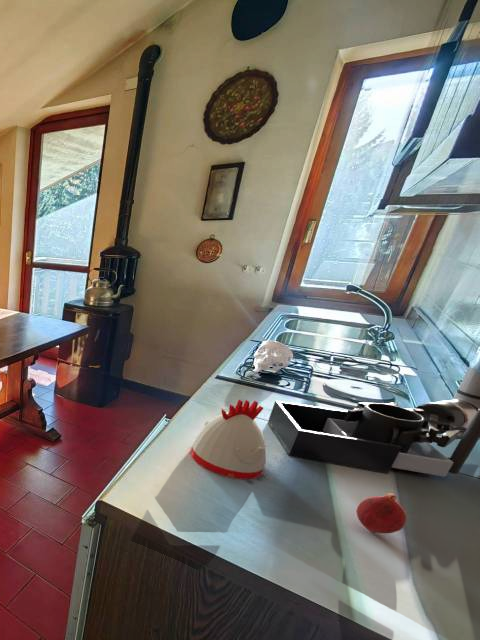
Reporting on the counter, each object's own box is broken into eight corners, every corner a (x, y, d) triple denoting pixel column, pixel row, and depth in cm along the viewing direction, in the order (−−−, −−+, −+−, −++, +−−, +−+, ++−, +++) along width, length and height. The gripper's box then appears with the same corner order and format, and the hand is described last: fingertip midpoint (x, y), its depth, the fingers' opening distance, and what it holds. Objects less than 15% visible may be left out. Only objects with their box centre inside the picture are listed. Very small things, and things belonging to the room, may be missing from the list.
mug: (356, 453, 88) (373, 418, 85) (347, 431, 97) (362, 399, 94) (415, 467, 83) (435, 430, 80) (399, 443, 93) (417, 409, 89)
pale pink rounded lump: (240, 366, 143) (257, 336, 142) (250, 378, 151) (265, 351, 151) (273, 374, 134) (291, 343, 134) (281, 387, 143) (298, 358, 143)
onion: (391, 549, 64) (413, 511, 61) (345, 528, 68) (364, 492, 65) (398, 534, 67) (419, 497, 64) (354, 515, 72) (372, 479, 69)
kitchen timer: (278, 479, 82) (302, 416, 76) (213, 479, 81) (233, 415, 76) (235, 444, 94) (254, 387, 89) (179, 443, 94) (194, 387, 88)
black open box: (350, 436, 99) (361, 412, 96) (387, 474, 84) (402, 447, 81) (267, 423, 105) (275, 400, 102) (288, 456, 90) (298, 430, 87)
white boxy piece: (417, 445, 93) (448, 388, 87) (461, 479, 81) (500, 416, 75) (322, 430, 99) (345, 376, 94) (349, 460, 87) (377, 399, 81)
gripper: (502, 456, 84) (428, 468, 79) (380, 410, 104) (316, 418, 99) (522, 426, 81) (446, 437, 76) (393, 384, 101) (327, 391, 96)
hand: (372, 426), depth 88 cm, fingers closed on mug, 10 cm apart
